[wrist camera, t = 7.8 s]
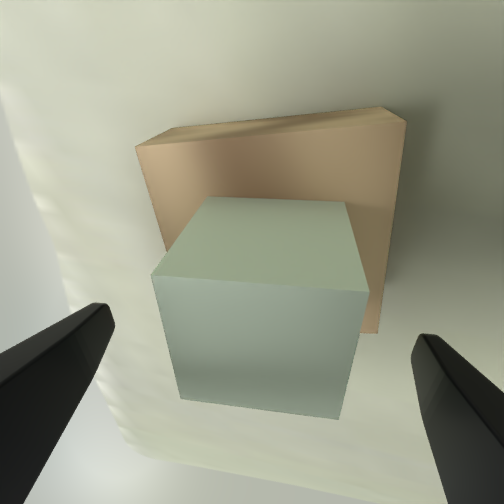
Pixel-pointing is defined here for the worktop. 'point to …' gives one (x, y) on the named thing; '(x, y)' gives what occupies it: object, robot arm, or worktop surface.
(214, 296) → the sage block
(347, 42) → the worktop surface
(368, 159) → the oak block
